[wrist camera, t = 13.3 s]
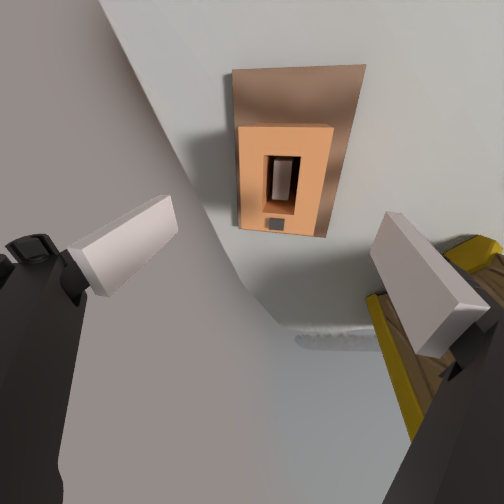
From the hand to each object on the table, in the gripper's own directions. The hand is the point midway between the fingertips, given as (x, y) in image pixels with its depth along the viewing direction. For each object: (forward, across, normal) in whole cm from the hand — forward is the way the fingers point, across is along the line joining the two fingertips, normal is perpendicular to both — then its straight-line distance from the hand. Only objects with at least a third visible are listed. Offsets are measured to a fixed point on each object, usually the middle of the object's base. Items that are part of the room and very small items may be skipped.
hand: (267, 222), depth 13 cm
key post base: (+19, 0, 0) cm, 19 cm away
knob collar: (+17, 0, 0) cm, 17 cm away
